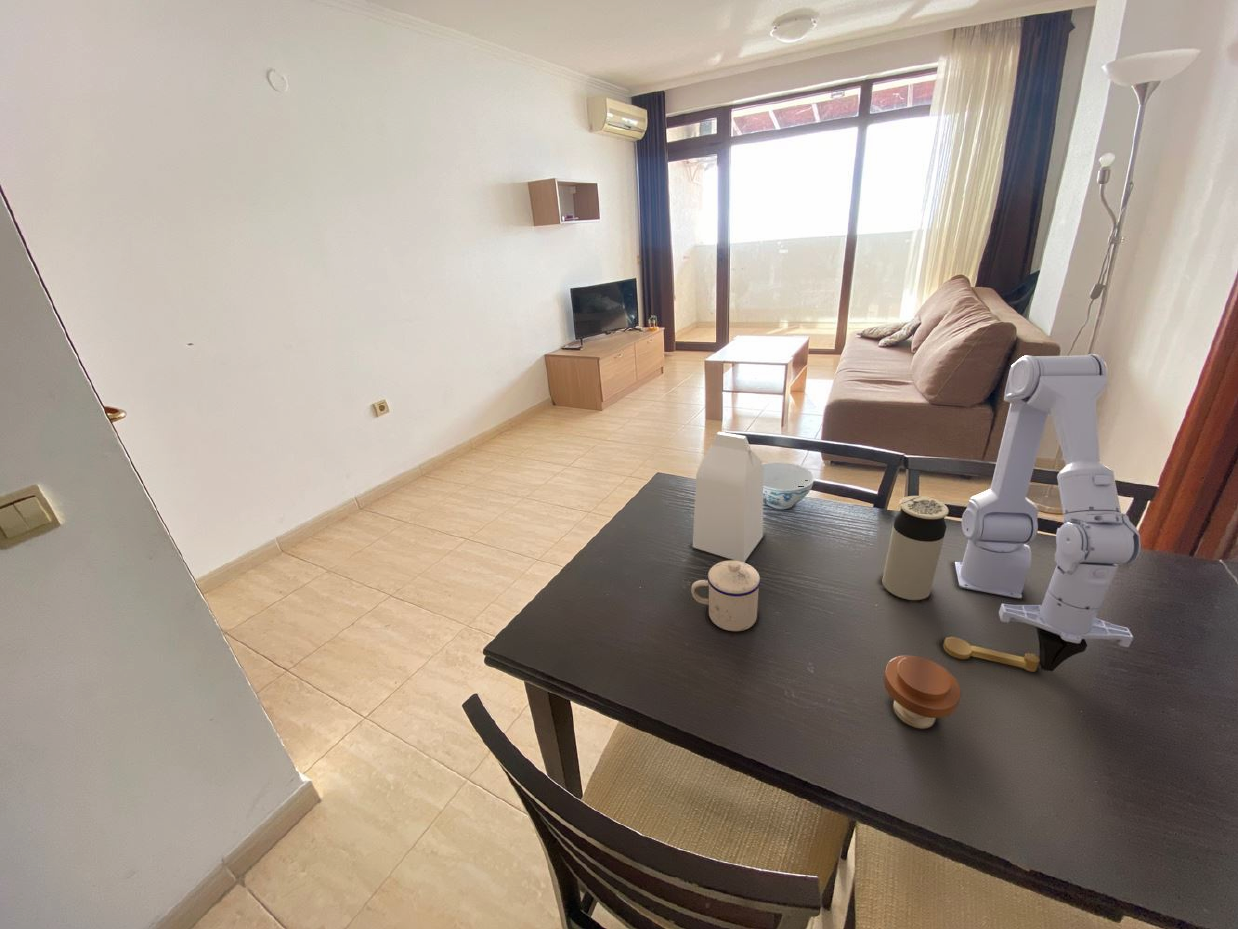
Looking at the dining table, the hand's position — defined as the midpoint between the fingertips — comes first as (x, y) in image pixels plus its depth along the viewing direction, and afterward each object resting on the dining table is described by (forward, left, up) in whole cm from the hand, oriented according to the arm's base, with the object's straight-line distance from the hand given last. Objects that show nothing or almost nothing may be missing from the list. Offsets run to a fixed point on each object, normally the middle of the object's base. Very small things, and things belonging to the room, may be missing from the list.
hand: (1045, 665), depth 76 cm
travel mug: (+18, -14, -1) cm, 23 cm away
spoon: (+8, 0, -1) cm, 8 cm away
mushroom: (+18, +15, -1) cm, 24 cm away
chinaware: (+45, -39, -1) cm, 60 cm away
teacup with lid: (+48, +5, -1) cm, 48 cm away
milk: (+53, -18, -1) cm, 56 cm away
